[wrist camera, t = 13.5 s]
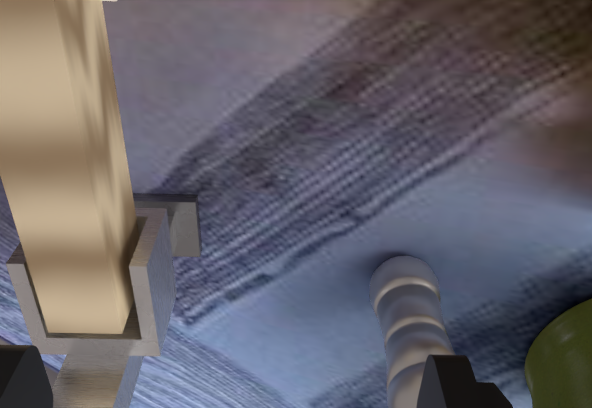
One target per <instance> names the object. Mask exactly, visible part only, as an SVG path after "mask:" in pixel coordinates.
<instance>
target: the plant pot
mask: <svg viewBox="0 0 592 408" xmlns="http://www.w3.org/2000/svg"><path fill="white" fill-rule="evenodd" d="M524 370H525V378H526V382H527V385H528V388H529V391H530V394H531V397H532V404H533V408H592V299H589V300H587V301H585V302H582V303H580V304H578V305H576V306H574V307H573V308H571V309H569V310H567V311H566V312H564V313H563V314H561V315H560V316H558V317H557V318H555V319H554V320H553V321H552V322H551V323H549V324H548V325H547V326H546V327H545V328H544V329H543V330H542V331H541V332H540V334H539V335H538V336H537V337H536V339H535V340H534V342H533V344H532V345H531V347H530V349H529V351H528V354H527V357H526V361H525V369H524Z"/></svg>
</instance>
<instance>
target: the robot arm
mask: <svg viewBox="0 0 592 408" xmlns="http://www.w3.org/2000/svg"><path fill="white" fill-rule="evenodd" d="M0 408H53V392H52V389H51V386H50V383H49V380H48V377H47V374H46V371H45V367H44V364H43V361H42V358H41V355H40V352H39V350H38V348H37V347H36V346H34V345H0ZM417 408H513V407H512V404H511V403H510V402H509V401H508V400H507V398H506V397H505V396H504V395H503V394H502V392H501V391H500V390H499V389H498V388H497V386H496V385H495V384H494V383H484V382H476V380H475V377H474V373H473V370H472V367H471V364H470V362H469V359H468V358H467V356H465V355H434V354H430V355H428V357H427V359H426V364H425V368H424V372H423V377H422V381H421V386H420V390H419V395H418V399H417Z"/></svg>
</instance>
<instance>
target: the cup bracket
mask: <svg viewBox="0 0 592 408" xmlns="http://www.w3.org/2000/svg"><path fill="white" fill-rule="evenodd" d="M133 200H134V206H135V213H136V219H137V225H138V231H139V238H140V239H139V241H138V244H137V247H136V249H135V252H134V254H133V257H132V259H131V262H130V265H129V270H130V276H131V281H132V287H133V292H134V301H133V304H132V307H131V310H130V312H129V315H128V318H127V321H126V324H125V327H124V330H123V333H122V334H99V333H48V329H47V326H46V323H45V320H44V316H43V313H42V310H41V307H40V303H39V300H38V297H37V293H36V290H35V287H34V284H33V280H32V277H31V274H30V271H29V267H28V264H27V261H26V258H25V254H24V251H23V248H22V245H21V242H20V243H19V245H18V246H17V248H16V249H15V251H14V252H13V254H12V255H11V257H10V258H9V260H8V261H7V263H6V266H7V269H8V272H9V275H10V278H11V281H12V284H13V287H14V290H15V293H16V296H17V299H18V302H19V305H20V308H21V311H22V314H23V317H24V320H25V323H26V326H27V329H28V332H29V335H30V338H31V341H32V344H33V345H34V346H36V347H37V348H38V350H39V352H40V354H65V355H67V356H66V358H65V360H64V363H63V365H62V367H61V369H60V372H59V374H58V377H57V379H56V381H55V383H54V386H53V388H52V392H53V408H129V406H130V403H131V400H132V396H133V393H134V389H135V386H136V382H137V379H138V376H139V372H140V369H141V365H142V362H143V358H144V356H161V352H162V348H163V344H164V340H165V337H166V333H167V329H168V325H169V321H170V317H171V314H172V310H173V306H174V302H175V298H176V294H177V290H176V282H175V273H174V265H173V256H186V257H200V255H201V251H202V243H201V231H200V219H199V207H198V195H171V194H133Z"/></svg>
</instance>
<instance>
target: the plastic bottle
mask: <svg viewBox="0 0 592 408" xmlns="http://www.w3.org/2000/svg"><path fill="white" fill-rule="evenodd" d="M369 297H370V302H371V304H372V307H373V310H374V312H375V314H376V316H377V318H378V321H379V325H380V328H381V332H382V335H383V339H384V344H385V353H386V362H387V402H388V408H417V399H418V395H419V390H420V386H421V381H422V377H423V372H424V368H425V364H426V359H427V357H428V355H430V354H434V355H455V353H454V351H453V348H452V346H451V343H450V340H449V338H448V335H447V333H446V330H445V327H444V321H443V316H442V311H441V306H440V290H439V283H438V280H437V278H436V276H435V274H434V273H433V271H432V269H431V268H430V267H429V265H428V264H426V263H425V262H424V261H422V260H420V259H418V258H415V257H411V256H397V257H393V258H390V259H388V260H386V261H385V262H383V263H382V264H381V265H380V266H379V267H378V268H377V269H376V270H375V271H374V273H373V275H372V277H371V280H370V290H369Z"/></svg>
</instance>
